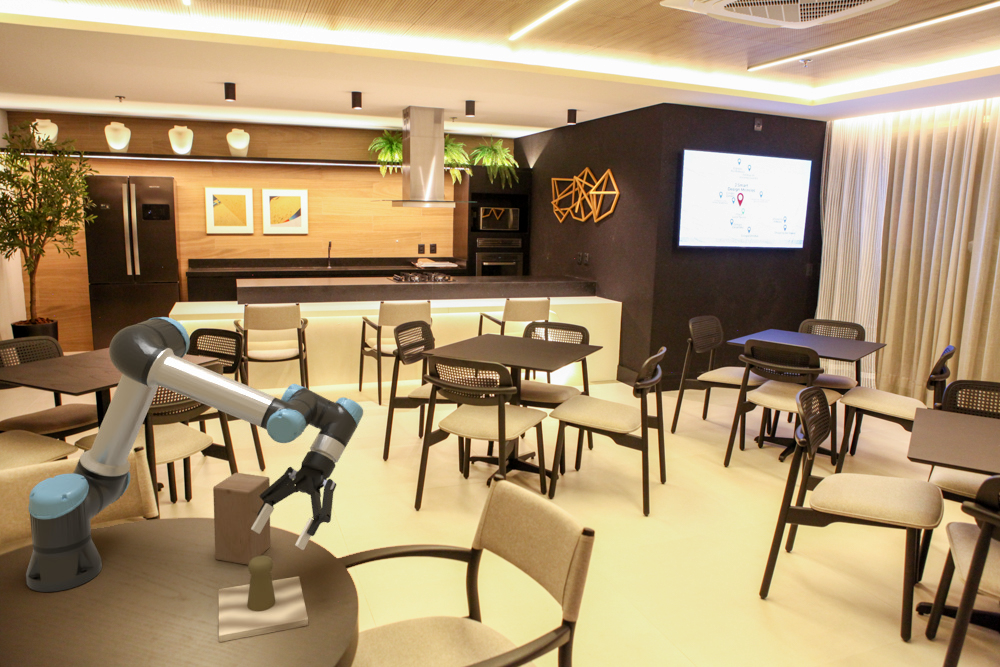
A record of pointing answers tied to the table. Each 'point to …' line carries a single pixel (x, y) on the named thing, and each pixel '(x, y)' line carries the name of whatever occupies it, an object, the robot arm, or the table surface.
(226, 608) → the birch board
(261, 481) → the wooden block
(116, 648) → the table surface
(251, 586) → the olive pawn
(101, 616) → the table surface
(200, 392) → the robot arm
